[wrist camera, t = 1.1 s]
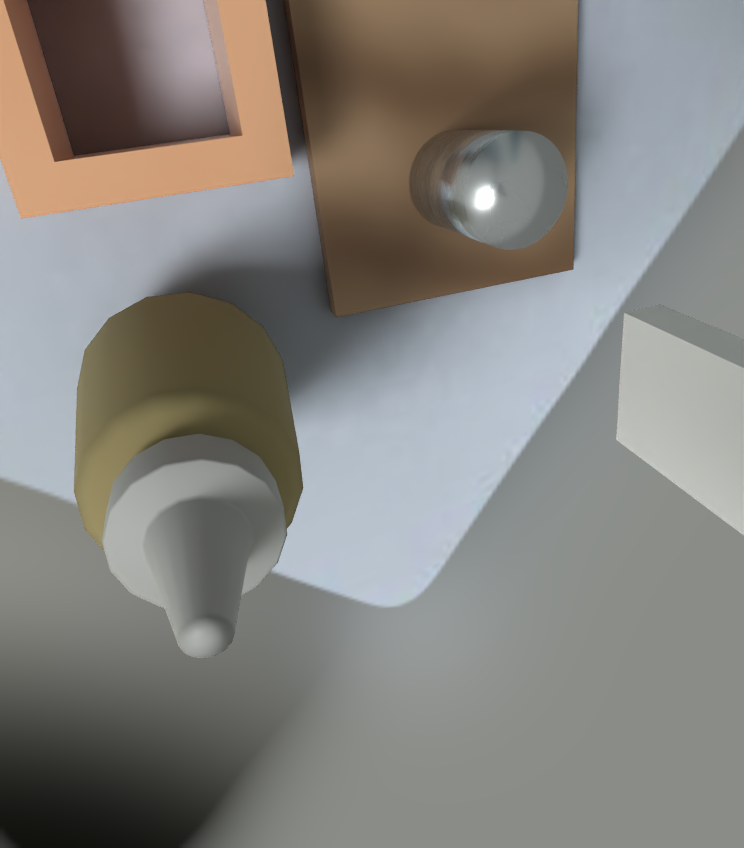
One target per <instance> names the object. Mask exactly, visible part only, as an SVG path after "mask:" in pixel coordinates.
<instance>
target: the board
mask: <svg viewBox="0 0 744 848" xmlns="http://www.w3.org/2000/svg"><path fill="white" fill-rule="evenodd" d="M284 5H285V11H286V18H287V24H288V31H289V38H290V44H291V51H292V57H293V64H294V70H295V77H296V83H297V90H298V96H299V103H300V110H301V116H302V123H303V129H304V136H305V142H306V149H307V155H308V162H309V168H310V175H311V182H312V188H313V195H314V201H315V208H316V214H317V221H318V227H319V234H320V241H321V247H322V254H323V260H324V267H325V273H326V280H327V286H328V293H329V299H330V306H331V312H332V313H333V314H334V315H335V316H336V317H340V316H345V315H350V314H355V313H360V312H365V311H370V310H375V309H380V308H385V307H390V306H395V305H400V304H405V303H410V302H415V301H420V300H425V299H430V298H434V297H439V296H444V295H449V294H454V293H459V292H464V291H469V290H474V289H479V288H484V287H489V286H494V285H499V284H504V283H509V282H514V281H519V280H524V279H528V278H533V277H538V276H543V275H548V274H553V273H558V272H563V271H568V270H573V265H574V207H575V149H576V91H577V34H578V0H284ZM449 130H508V131H531V132H535V133H538V134H540V135H543V136H544V137H546V138H547V139H549V140H550V141H551V142H552V143H553V144H554V145H555V146H556V148H557V149H558V150H559V152H560V154H561V155H562V158H563V160H564V162H565V166H566V170H567V176H568V189H567V196H566V201H565V204H564V207H563V210H562V212H561V214H560V216H559V218H558V220H557V222H556V223H555V224H554V226H553V227H552V228H551V230H550V231H549V232H548V233H547V234H546V235H545V236H544V237H543V238H541V239H540V240H539V241H537V242H535V243H534V244H532V245H530V246H527V247H525V248H521V249H515V250H505V249H499V248H497V247H494V246H491V245H488V244H485V243H483V242H480V241H477V240H475V239H472V238H469V237H466V236H464V235H461V234H458V233H455V232H453V231H450V230H447V229H444V228H442V227H439V226H436V225H434V224H432V223H430V222H428V221H427V220H426V219H424V218H423V217H422V216H421V215H420V213H419V212H418V211H417V209H416V207H415V206H414V203H413V201H412V198H411V195H410V189H409V177H410V170H411V166H412V163H413V161H414V159H415V156H416V155H417V153H418V151H419V150H420V148H421V147H422V146H423V145H424V144H425V143H426V142H427V141H428V140H429V139H431V138H432V137H433V136H435V135H437V134H439V133H441V132H444V131H449Z"/></svg>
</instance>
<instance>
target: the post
mask: <svg viewBox="0 0 744 848" xmlns="http://www.w3.org/2000/svg"><path fill="white" fill-rule="evenodd" d="M409 189H410V195H411V198H412V201H413V203H414V206H415V207H416V209H417V211H418V212H419V213H420V215H421V216H422V217H423V218H424V219H426V220H427V221H428V222H430V223H432V224H434V225H436V226H439V227H442V228H444V229H447V230H450V231H453V232H455V233H458V234H461V235H464V236H466V237H469V238H472V239H475V240H477V241H480V242H483V243H485V244H488V245H491V246H494V247H497V248H499V249H505V250H515V249H521V248H525V247H527V246H530V245H532V244H534V243H535V242H537V241H539V240H540V239H541V238H543V237H544V236H545V235H546V234H547V233H548V232H549V231H550V230H551V228H552V227H553V226H554V224H555V223H556V222H557V220H558V218H559V216H560V214H561V212H562V210H563V207H564V204H565V201H566V196H567V189H568V176H567V170H566V166H565V162H564V160H563V158H562V155H561V154H560V152H559V150H558V149H557V148H556V146H555V145H554V144H553V143H552V142H551V141H550V140H549V139H547V138H546V137H544V136H543V135H540V134H538V133H535V132H531V131H508V130H449V131H444V132H441V133H439V134H437V135H435V136H433V137H432V138H431V139H429V140H428V141H427V142H426V143H425V144H424V145H423V146H422V147H421V148H420V150H419V151H418V153H417V155H416V156H415V159H414V161H413V163H412V166H411V170H410V177H409Z"/></svg>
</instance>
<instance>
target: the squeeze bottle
mask: <svg viewBox="0 0 744 848" xmlns="http://www.w3.org/2000/svg"><path fill="white" fill-rule="evenodd" d="M302 490H303V482H302V473H301V464H300V456H299V449H298V443H297V437H296V432H295V426H294V421H293V415H292V410H291V404H290V399H289V393H288V388H287V382H286V376H285V371H284V365H283V360H282V358H281V356H280V355H279V353H278V351H277V349H276V348H275V346H274V344H273V343H272V341H271V339H270V338H269V336H268V334H267V332H266V331H265V329H264V327H263V326H261V325H260V324H258V323H257V322H256V321H254V320H253V319H252V318H250V317H249V316H248V315H246V314H245V313H244V312H242V311H241V310H240V309H238V308H237V307H236V306H234V305H233V304H232V303H229V302H225V301H221V300H218V299H214V298H210V297H206V296H203V295H199V294H195V293H191V292H187V293H178V294H169V295H161V296H152V297H146V298H144V299H142V300H141V301H139V302H137V303H135V304H133V305H132V306H130V307H128V308H126V309H124V310H122V311H121V312H119V313H117V314H115V315H113V316H112V317H110V318H109V319H108V320H107V321H106V323H105V324H104V325H103V327H102V328H101V329H100V331H99V332H98V333H97V335H96V336H95V337H94V339H93V340H92V341H91V343H90V344H89V345H88V347H87V348H86V349H85V351H84V356H83V362H82V367H81V372H80V377H79V382H78V387H77V410H76V442H75V475H74V493H75V497H76V500H77V504H78V507H79V510H80V514H81V517H82V521H83V524H84V527H85V530H86V531H87V532H88V533H89V534H90V535H91V537H92V538H93V539H94V540H95V541H96V542H97V543H98V544H99V545H100V547H102V549H103V550H104V551H105V555H106V558H107V562H108V566H109V569H110V571H111V572H112V573H113V575H114V576H115V577H116V578H117V579H118V580H119V581H120V582H121V583H122V584H123V585H124V586H125V588H126V589H127V590H128V591H129V592H130V593H131V594H133V595H135V596H137V597H140V598H142V599H144V600H146V601H149V602H151V603H153V604H155V605H158V606H160V607H165V610H166V612H167V615H168V618H169V621H170V623H171V626H172V629H173V632H174V635H175V637H176V640H177V643H178V645H179V648H180V649H181V650H182V651H183V652H184V653H185V654H187V655H190V656H192V657H195V658H207V657H211V656H216V655H218V654H219V653H221V652H223V651H224V650H226V648H227V647H228V646H229V645H230V644H231V643H232V640H233V637H234V633H235V628H236V623H237V617H238V611H239V605H240V600H241V595H243V594H244V593H246V592H248V591H250V590H251V589H253V588H255V587H257V586H258V585H259V584H260V582H261V581H262V580H263V579H264V578H265V577H266V576H267V574H268V573H269V572H270V571H271V570H272V569H273V567H274V566H275V565H276V564H277V563H278V561H279V557H280V554H281V551H282V548H283V545H284V542H285V539H286V536H287V528H288V527H289V525H290V524H291V523H292V520H293V517H294V514H295V511H296V508H297V505H298V502H299V499H300V496H301V493H302Z"/></svg>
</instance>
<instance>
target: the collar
mask: <svg viewBox="0 0 744 848" xmlns="http://www.w3.org/2000/svg"><path fill="white" fill-rule="evenodd" d="M203 2H204V7H205V12H206V17H207V22H208V27H209V32H210V37H211V42H212V47H213V52H214V57H215V62H216V67H217V72H218V77H219V82H220V87H221V92H222V97H223V102H224V107H225V112H226V117H227V122H228V127H229V132H230V134H227V135H219V136H212V137H205V138H198V139H191V140H184V141H176V142H169V143H162V144H155V145H148V146H141V147H133V148H126V149H119V150H112V151H105V152H98V153H90V154H83V155H76V156H74V155H73V151H72V148H71V145H70V141H69V138H68V135H67V131H66V128H65V125H64V122H63V118H62V115H61V112H60V108H59V105H58V102H57V98H56V95H55V92H54V88H53V85H52V82H51V78H50V75H49V72H48V68H47V65H46V62H45V58H44V55H43V52H42V48H41V45H40V42H39V38H38V35H37V32H36V28H35V25H34V22H33V19H32V15H31V12H30V9H29V5H28V2H27V0H0V160H1V162H2V165H3V168H4V171H5V174H6V177H7V180H8V182H9V185H10V188H11V191H12V194H13V197H14V200H15V203H16V205H17V208H18V211H19V214H20V217H21V219H22V218H28V217H34V216H41V215H47V214H54V213H60V212H67V211H73V210H79V209H86V208H92V207H99V206H105V205H112V204H118V203H124V202H131V201H137V200H144V199H150V198H157V197H163V196H169V195H176V194H182V193H189V192H195V191H202V190H208V189H215V188H221V187H227V186H234V185H240V184H247V183H253V182H260V181H266V180H272V179H279V178H285V177H292V176H294V171H293V165H292V159H291V153H290V147H289V141H288V135H287V128H286V122H285V116H284V110H283V104H282V98H281V92H280V86H279V79H278V73H277V67H276V61H275V55H274V49H273V43H272V37H271V30H270V24H269V18H268V12H267V6H266V0H203Z"/></svg>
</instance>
